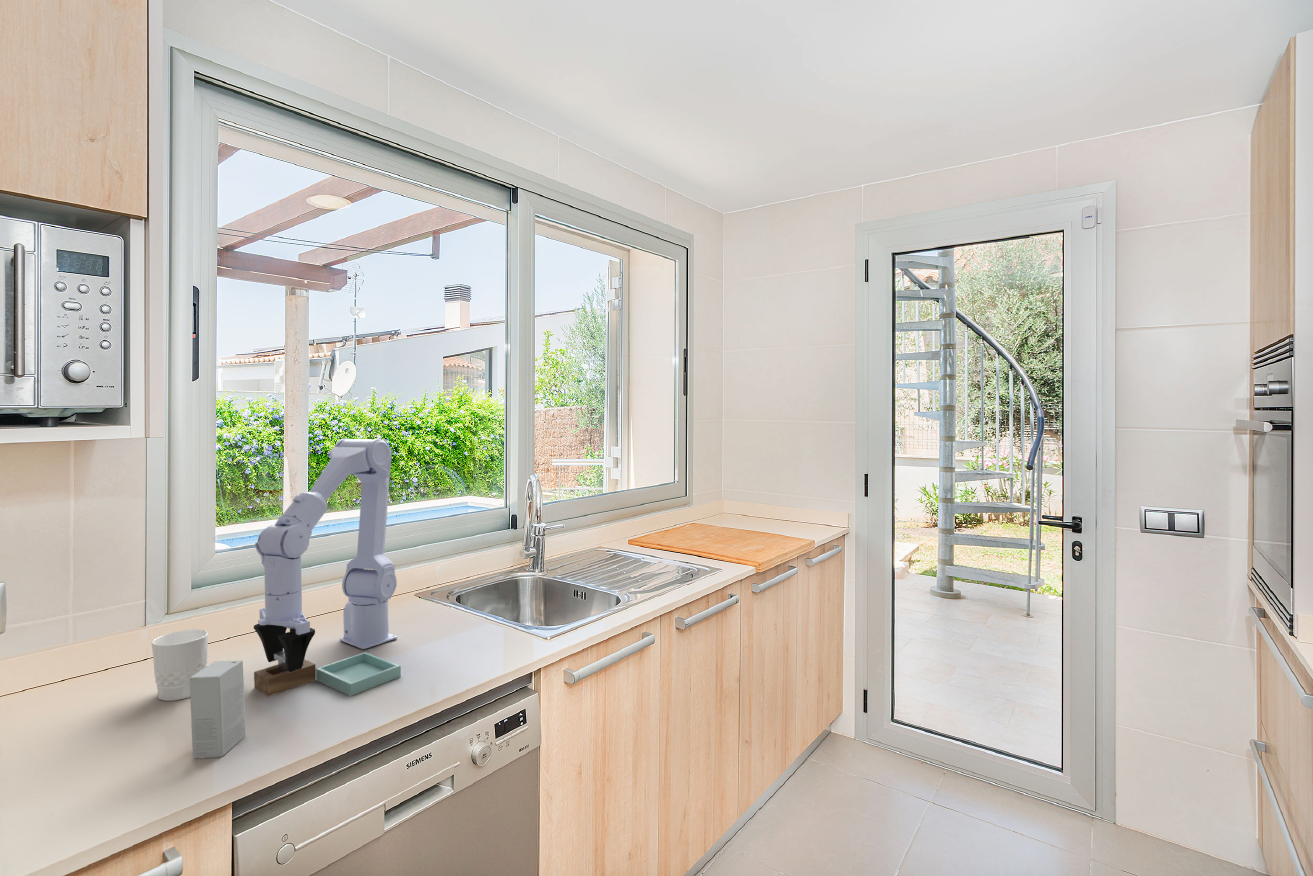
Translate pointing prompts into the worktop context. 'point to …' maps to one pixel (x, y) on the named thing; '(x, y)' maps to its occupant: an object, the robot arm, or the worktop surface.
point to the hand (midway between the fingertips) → (284, 665)
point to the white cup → (178, 661)
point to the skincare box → (217, 708)
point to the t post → (281, 661)
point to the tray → (358, 673)
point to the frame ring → (283, 678)
